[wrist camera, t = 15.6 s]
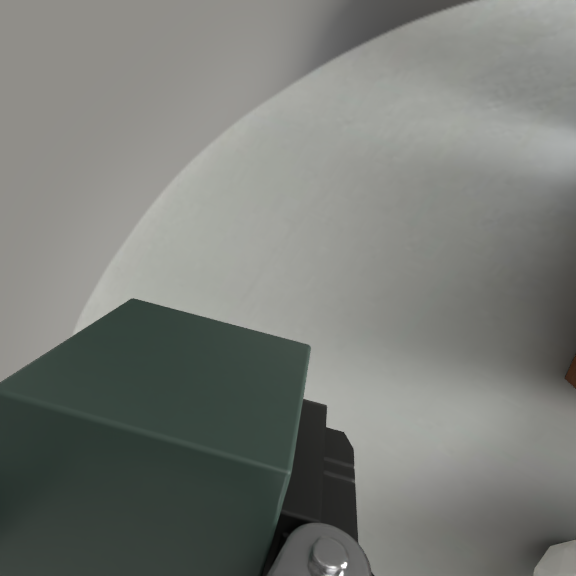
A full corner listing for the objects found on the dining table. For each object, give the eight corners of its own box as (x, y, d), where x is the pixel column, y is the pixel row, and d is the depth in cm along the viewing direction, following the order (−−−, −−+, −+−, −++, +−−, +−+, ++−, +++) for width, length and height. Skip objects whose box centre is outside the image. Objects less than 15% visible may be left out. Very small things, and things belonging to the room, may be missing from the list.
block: (131, 296, 10) (-14, 387, 6) (312, 343, 10) (292, 473, 6) (111, 448, 11) (-20, 612, 7) (270, 493, 11) (230, 688, 7)
